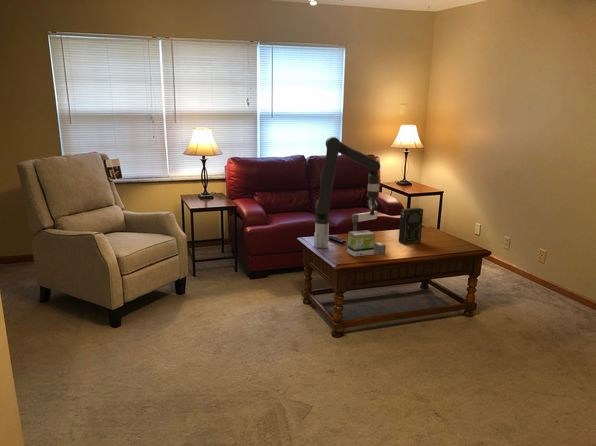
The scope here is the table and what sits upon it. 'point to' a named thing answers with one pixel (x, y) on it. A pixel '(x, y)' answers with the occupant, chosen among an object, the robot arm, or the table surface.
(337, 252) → the table surface
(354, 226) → the arm post
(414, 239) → the dark grey tall block
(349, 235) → the tea box
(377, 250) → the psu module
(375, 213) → the bar
